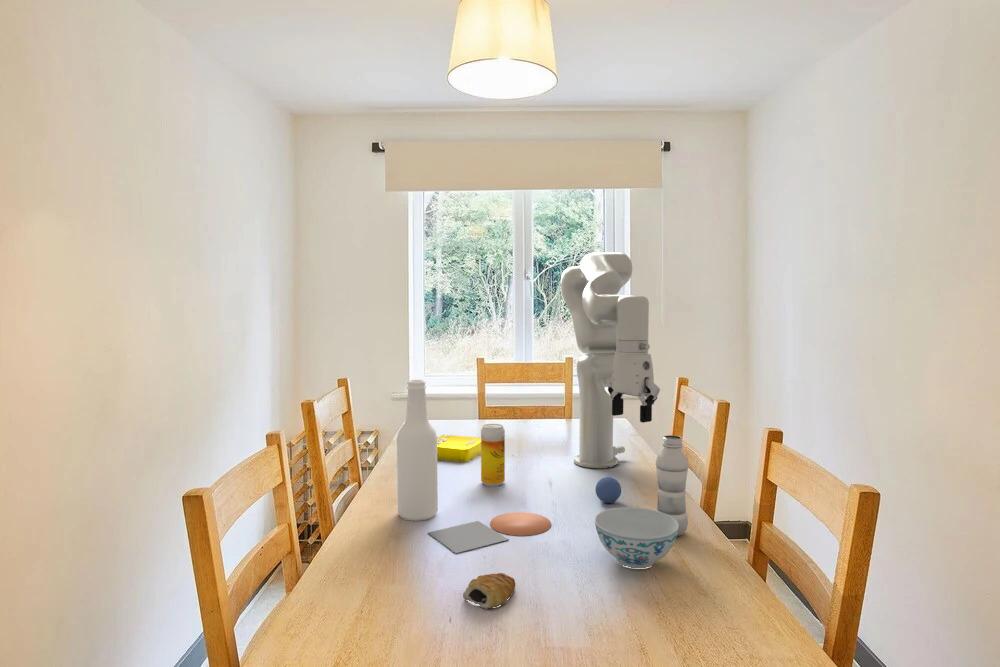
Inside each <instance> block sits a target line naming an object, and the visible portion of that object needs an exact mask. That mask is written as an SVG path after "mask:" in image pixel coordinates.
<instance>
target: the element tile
mask: <svg viewBox="0 0 1000 667" xmlns="http://www.w3.org/2000/svg"><path fill="white" fill-rule="evenodd" d="M479 454H480V455H481V437H478V436H477V437H476V436H474V437H473V436H465V435H453V434H442V435H439V436H437V459H443V460H442V461H446V460H450V462H455V461H458V462H457V463H467V461H468V462H471V461H472V460H474V459H475V458H476V456H477V457H478V456H480V455H479ZM474 457H475V458H474ZM471 459H472V460H471Z"/></svg>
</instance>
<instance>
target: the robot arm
mask: <svg viewBox="0 0 1000 667" xmlns="http://www.w3.org/2000/svg"><path fill="white" fill-rule="evenodd" d="M632 275H633V262H632V260H631V258H630V257H629V256H628V255H627V254H626V253H623V252H591V253H589V254H586V255H585V256H584V257H583V258H582V259H581V261H580V265H577V266H576V265H574V266H570V267H568V268H566V269H564V271H563V272H562V273H561V277H560V288H561V293H562V297H563V301H564V302H565V305H566V307H567V309H568V311H569V313H570V315H571V319H572V323H573V324H572V325H573V329H574V335H575V339H576V344H577V347H578V350H579V351H580V352H581V353H583V355H582V356H580V357H579V359H578V360H577V362H576V375H577V380H578V391H579V438H578V439H579V450H578V451H579V452H578V454H577V455H575V456H574V458H573V462H574V464H575V465H577V466H580V467H584V468H588V469H608V468H607V467H610V468H613V467H612V466H614V465H616V464H617V465H619V459H618V457H616V456H617V455H618V454H624V453H625V452H626V448H625V446H617V447H616V446H614V416H622V415H623V414H624V398H622V397H623V396H624V395H628V396H632V397H638V399H639V401H640V402H641V405H640V406H639V422H640V423H650V422H652V420H653V417H652V416H653V412H652V411H653V406H654V405H655V403H656V401H657V399H658V395H659V393H660V390H661V388H660V387H659V386H658V385H657V384H656V383H655V380H654V379H655V378H654V366H653V361H652V360H653V359H652V356H651V355H652V354H651V353H649V350H650V347H651V345H650V344H649V321H650V320H649V316H650V314H649V311H650V309H649V308H650V305H649V303H650V302H649V299H648V297H647V296H644V295H638V294H637V295H636V294H618V293H619V292H620V290H621V288H623V287H624V286H625V285H626V284H627V283H628V282H629V281H630V279H631V277H632ZM606 388H607V390H606ZM617 465H616V466H617ZM614 467H615V466H614Z"/></svg>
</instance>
